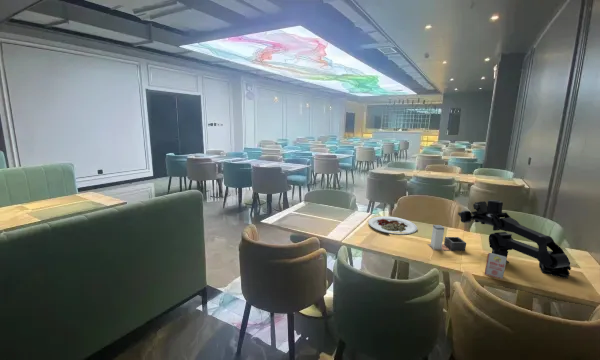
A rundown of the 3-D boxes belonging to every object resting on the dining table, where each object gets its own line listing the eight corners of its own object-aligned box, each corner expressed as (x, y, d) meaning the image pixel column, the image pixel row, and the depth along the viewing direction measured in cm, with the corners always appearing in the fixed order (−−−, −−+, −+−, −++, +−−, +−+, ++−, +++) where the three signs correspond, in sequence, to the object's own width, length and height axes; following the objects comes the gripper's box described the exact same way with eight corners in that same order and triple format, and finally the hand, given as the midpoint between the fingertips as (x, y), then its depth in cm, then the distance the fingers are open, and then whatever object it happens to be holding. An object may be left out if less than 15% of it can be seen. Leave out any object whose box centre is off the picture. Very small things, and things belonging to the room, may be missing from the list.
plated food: (415, 240, 163) (415, 235, 162) (363, 230, 175) (363, 225, 175) (418, 223, 189) (419, 219, 188) (373, 216, 202) (373, 211, 201)
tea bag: (485, 270, 131) (488, 251, 129) (502, 275, 127) (506, 255, 125) (484, 274, 128) (488, 254, 126) (502, 279, 124) (506, 258, 122)
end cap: (565, 272, 132) (568, 259, 130) (569, 279, 126) (573, 265, 124) (537, 266, 137) (540, 253, 135) (540, 272, 131) (543, 259, 129)
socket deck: (465, 252, 148) (467, 243, 147) (433, 252, 148) (434, 242, 147) (457, 246, 156) (458, 236, 155) (426, 245, 156) (428, 236, 155)
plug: (441, 249, 150) (444, 227, 147) (433, 248, 150) (436, 227, 147) (437, 245, 154) (440, 225, 151) (430, 245, 154) (433, 224, 151)
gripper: (504, 203, 148) (479, 198, 163) (473, 204, 144) (451, 199, 159) (502, 223, 149) (478, 217, 164) (472, 225, 145) (450, 219, 160)
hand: (465, 212), depth 162 cm, fingers open, 9 cm apart
